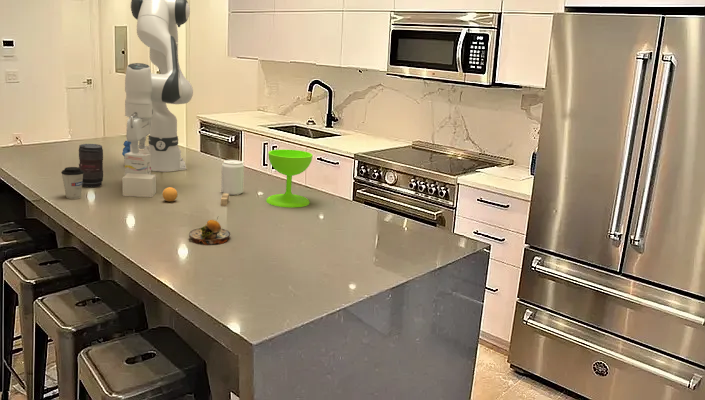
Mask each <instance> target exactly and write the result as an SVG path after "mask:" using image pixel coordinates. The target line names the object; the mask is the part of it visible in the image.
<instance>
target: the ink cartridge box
mask: <svg viewBox="0 0 705 400" xmlns="http://www.w3.org/2000/svg"><path fill="white" fill-rule="evenodd" d="M138 148H139V144H138ZM127 173H132V174H152V170H151V154H150V146H149V145H145V148H144V149H139V152H138V153H137V154H135V153H132V146H131V144H130V152H129V153H126V154H125V159H124V176H125V175H126V174H127Z"/></svg>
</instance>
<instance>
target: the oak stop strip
mask: <svg viewBox="0 0 705 400" xmlns="http://www.w3.org/2000/svg"><path fill="white" fill-rule="evenodd" d="M229 200H230V195H229V194H227V193H223V192H222V196H221V198H220V206H221V207H227V206H228V204H229Z"/></svg>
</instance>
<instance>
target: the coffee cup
mask: <svg viewBox="0 0 705 400" xmlns="http://www.w3.org/2000/svg"><path fill="white" fill-rule="evenodd" d="M83 173H84V172H83V170H80V168H79V166H69V167H64V169H63V170H62V171H61V174H62V176H61V177H62V181H63V187H64V192H65V197H66V198H67V199H69V200H76V199H80V198H82V189H83V186H82V181H83Z"/></svg>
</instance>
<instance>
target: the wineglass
mask: <svg viewBox="0 0 705 400" xmlns="http://www.w3.org/2000/svg"><path fill="white" fill-rule="evenodd" d="M267 155H268V160H269V163H270V165H271V166H272V167H273V169H274V170H275V171H276V172H278V173H279V174H281V175H284V176H286V185H285V192H284V193H277V194H272V195H270V196H268V197H266V199H265V200H266V203H267V204H269V205H271V206H275V207H278V208H279V207H280V208H289V209H290V208H291V209H292V208H302V207H306V206H309V205H310V202H311V201H310V200H309V199H308V198H307V197H305V196H302V195H299V194H295V193H292V185H293V184H292V180H293V176H297V175H300V174H302V173H304V172H305V171H306V170H307V169H308V168H309V167H310V165H311V163H312V160H313V154H312V153H311V152H308V151H304V150H297V149H284V148H283V149H272V150H269V151H268V152H267Z"/></svg>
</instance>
